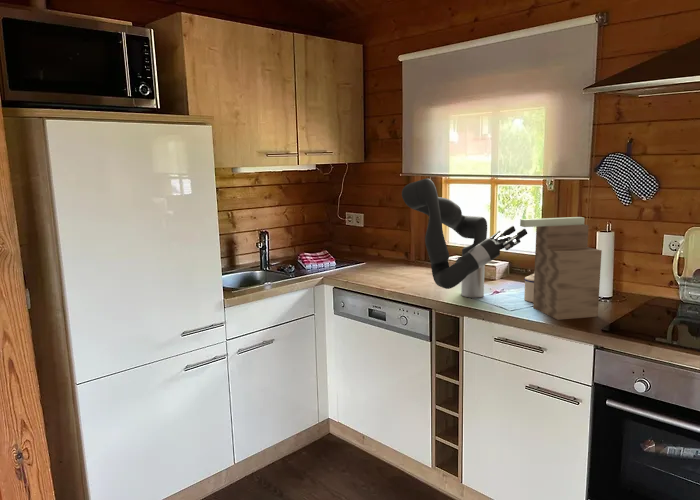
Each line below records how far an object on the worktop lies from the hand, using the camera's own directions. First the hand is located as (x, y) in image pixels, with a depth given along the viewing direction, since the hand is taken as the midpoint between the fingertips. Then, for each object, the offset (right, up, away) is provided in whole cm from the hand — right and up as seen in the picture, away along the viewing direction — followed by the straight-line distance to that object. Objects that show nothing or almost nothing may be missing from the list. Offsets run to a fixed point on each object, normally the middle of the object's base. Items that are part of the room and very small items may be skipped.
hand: (519, 229), depth 192 cm
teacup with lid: (+14, -28, +23) cm, 39 cm away
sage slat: (+13, +2, +2) cm, 13 cm away
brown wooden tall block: (+18, -30, +4) cm, 36 cm away
